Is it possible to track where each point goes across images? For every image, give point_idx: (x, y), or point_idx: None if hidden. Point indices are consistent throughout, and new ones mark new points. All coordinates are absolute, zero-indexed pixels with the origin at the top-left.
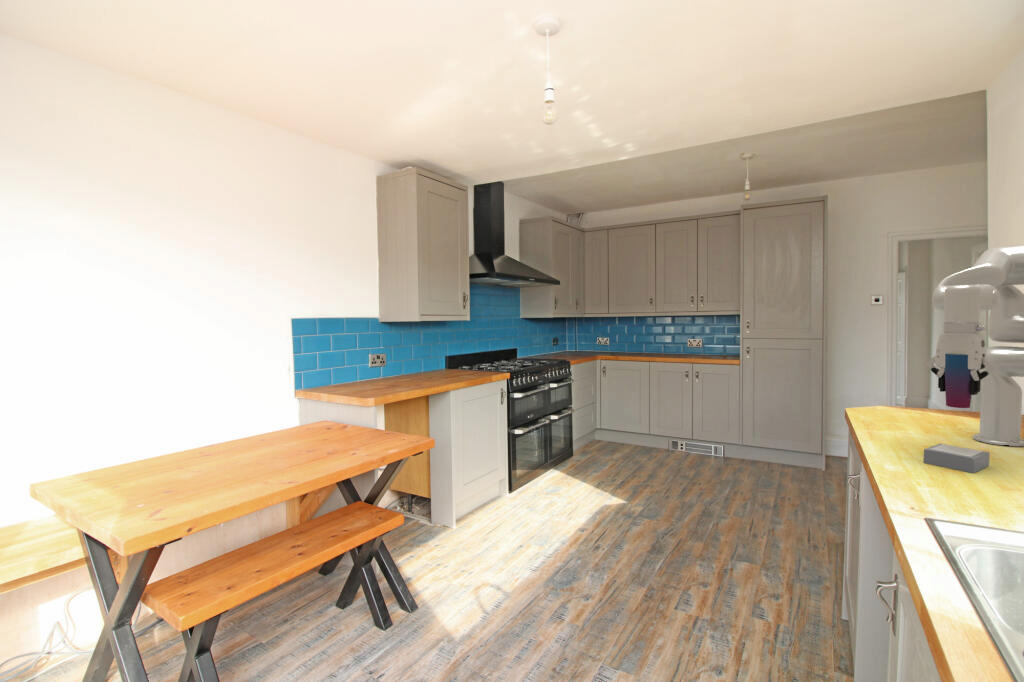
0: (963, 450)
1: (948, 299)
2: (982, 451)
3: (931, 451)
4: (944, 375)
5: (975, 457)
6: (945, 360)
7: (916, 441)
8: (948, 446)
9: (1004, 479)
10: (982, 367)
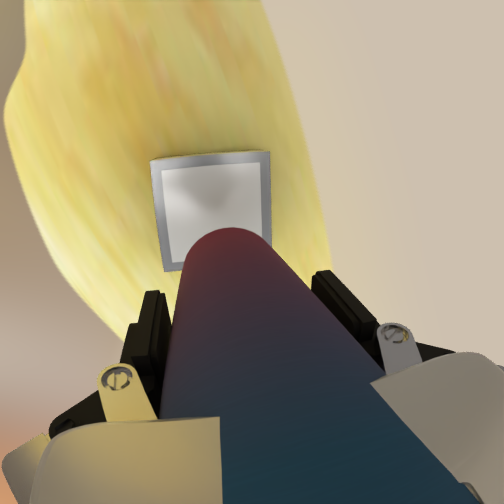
0: (225, 197)
1: None
2: (258, 164)
3: (181, 269)
4: (158, 409)
5: (269, 244)
6: None
7: (58, 54)
8: (182, 185)
9: (311, 236)
10: (467, 360)
